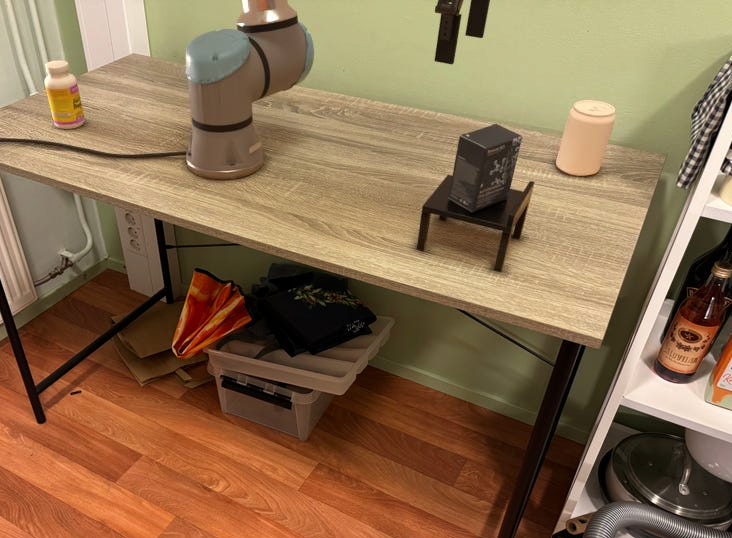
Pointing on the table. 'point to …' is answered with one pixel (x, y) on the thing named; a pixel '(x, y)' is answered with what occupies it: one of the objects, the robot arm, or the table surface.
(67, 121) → the supplement bottle
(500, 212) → the small dark brown table
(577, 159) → the beverage can
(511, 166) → the box
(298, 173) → the table surface
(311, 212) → the table surface
